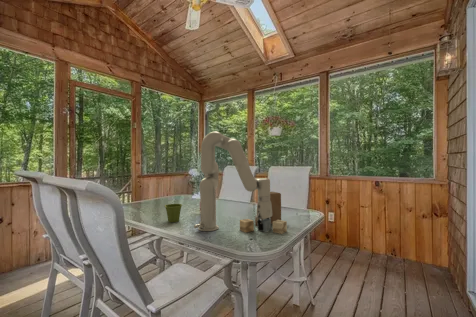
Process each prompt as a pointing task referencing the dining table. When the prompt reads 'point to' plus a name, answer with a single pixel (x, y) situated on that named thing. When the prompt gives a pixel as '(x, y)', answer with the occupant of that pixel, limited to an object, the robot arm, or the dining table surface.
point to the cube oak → (246, 225)
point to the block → (275, 206)
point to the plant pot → (173, 212)
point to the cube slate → (266, 225)
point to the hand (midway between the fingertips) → (264, 228)
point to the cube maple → (279, 226)
